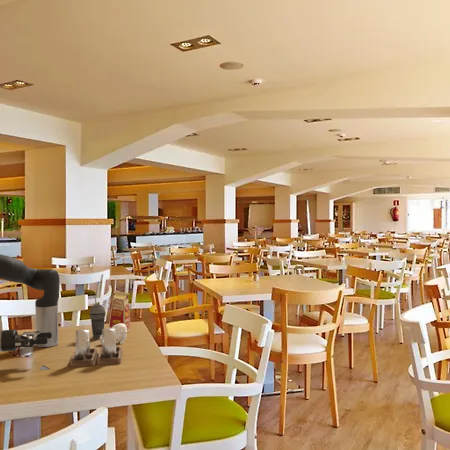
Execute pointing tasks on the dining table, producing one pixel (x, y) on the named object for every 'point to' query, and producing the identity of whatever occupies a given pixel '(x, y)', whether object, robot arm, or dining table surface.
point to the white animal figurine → (119, 333)
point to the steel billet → (83, 344)
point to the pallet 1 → (84, 362)
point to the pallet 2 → (110, 360)
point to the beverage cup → (97, 319)
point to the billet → (109, 342)
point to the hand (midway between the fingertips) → (49, 337)
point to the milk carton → (120, 310)
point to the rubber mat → (44, 368)
